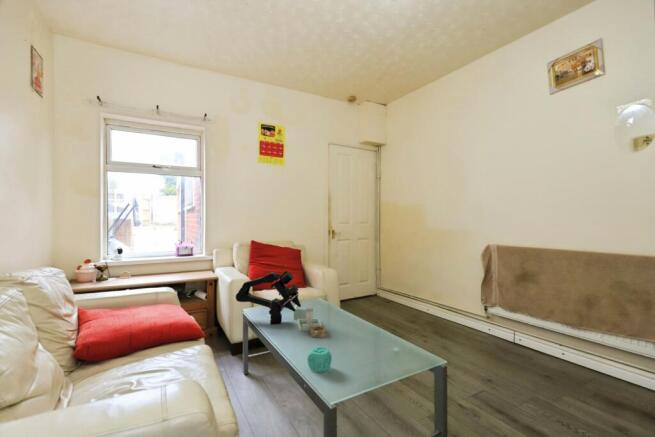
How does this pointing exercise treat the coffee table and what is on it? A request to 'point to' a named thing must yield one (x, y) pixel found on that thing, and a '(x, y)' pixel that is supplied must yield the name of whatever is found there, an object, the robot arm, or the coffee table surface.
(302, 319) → the parts tray
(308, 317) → the ball
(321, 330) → the tan square frame block
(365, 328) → the coffee table surface
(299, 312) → the right angle wall
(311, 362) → the decorative dice
